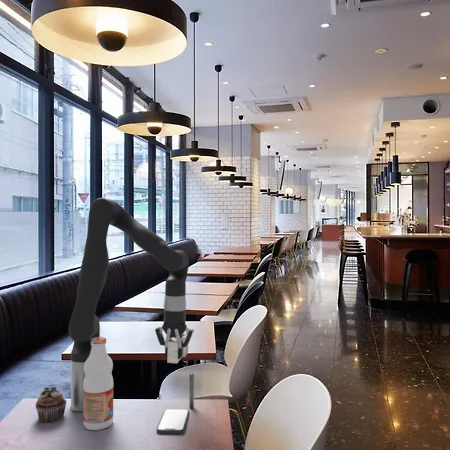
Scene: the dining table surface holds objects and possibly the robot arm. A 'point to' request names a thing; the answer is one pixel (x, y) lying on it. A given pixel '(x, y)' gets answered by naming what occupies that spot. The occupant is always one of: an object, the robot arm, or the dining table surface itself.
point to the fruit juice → (98, 387)
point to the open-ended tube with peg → (175, 350)
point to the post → (191, 390)
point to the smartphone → (173, 421)
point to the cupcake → (50, 405)
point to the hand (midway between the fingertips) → (173, 357)
